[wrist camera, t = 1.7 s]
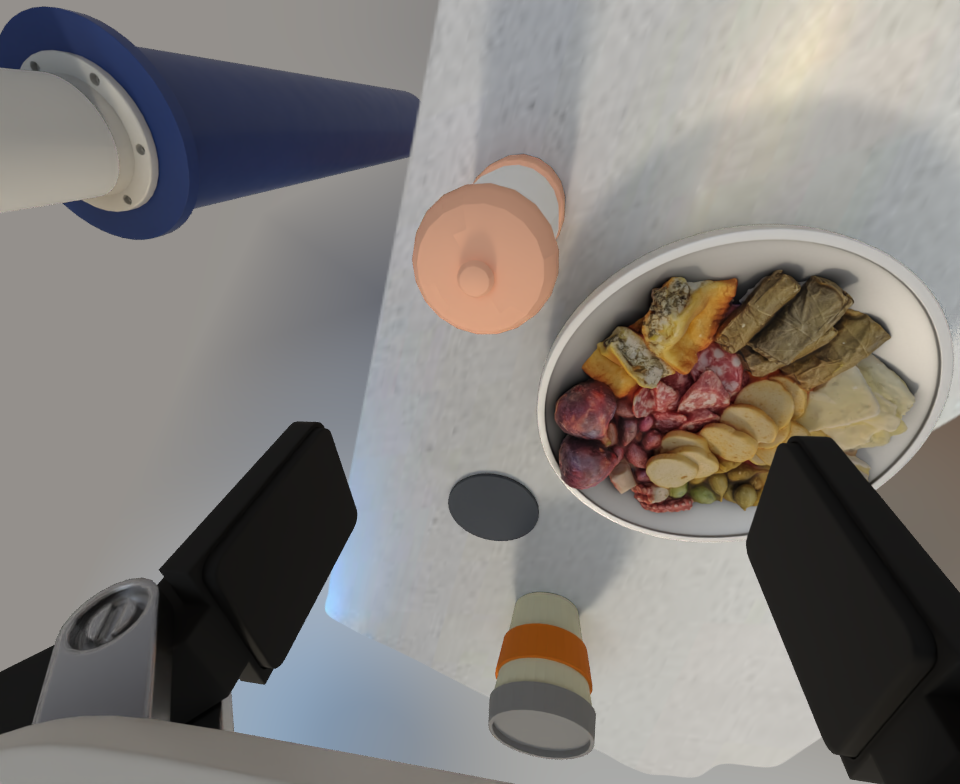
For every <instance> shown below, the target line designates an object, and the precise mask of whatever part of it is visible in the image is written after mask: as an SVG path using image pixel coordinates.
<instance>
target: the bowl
mask: <svg viewBox="0 0 960 784" xmlns="http://www.w3.org/2000/svg"><path fill="white" fill-rule="evenodd" d="M953 366H954V353H953V343H952V336H951V333H950V329H949V325H948V322H947V320H946V317H945V315H944V312H943V310H942V308H941V307H940V305H939V303H938V301H937V300H936V298H935V297H934V295H933V294H932V292H931V291H930V290H929V288H928V287H927V286H926V285H925V284H924V282H923V281H922V280H921V279H920V278H919V277H918V276H917V275H916V274H915V273H914V272H912V271H911V270H910V269H909V268H907V267H906V266H905V265H904V264H902V263H901V262H899V261H898V260H896V259H895V258H893V257H892V256H890V255H888V254H887V253H885V252H883V251H881V250H879V249H877V248H875V247H873V246H870V245H868V244H866V243H864V242H861V241H859V240H856V239H853V238H850V237H848V236H845V235H842V234H838V233H834V232H831V231H827V230H822V229H817V228H812V227H804V226H796V225H782V224H758V225H744V226H737V227H729V228H723V229H718V230H713V231H709V232H705V233H701V234H697V235H693V236H690V237H687V238H684V239H681V240H678V241H675V242H673V243H670V244H668V245H665V246H663V247H661V248H658V249H656V250H654V251H652V252H650V253H648V254H646V255H644V256H642V257H640V258H639V259H637V260H635V261H633V262H632V263H630V264H628V265H627V266H625V267H624V268H622V269H621V270H619V271H618V272H616V273H615V274H614V275H612V276H611V277H610V278H608V279H607V280H606V281H605V282H603V283H602V284H601V285H600V286H599V287H598V288H596V289H595V290H594V291H593V292H592V293H591V294H590V295H589V296H588V297H587V298H586V299H585V300H584V301H583V302H582V303H581V304H580V305H579V307H578V308H577V309H576V310H575V311H574V313H573V314H572V315H571V316H570V318H569V319H568V320H567V322H566V323H565V325H564V326H563V328H562V329H561V331H560V333H559V334H558V336H557V338H556V340H555V341H554V343H553V345H552V347H551V350H550V352H549V354H548V356H547V359H546V362H545V365H544V368H543V371H542V375H541V379H540V384H539V390H538V399H537V423H538V430H539V435H540V439H541V443H542V446H543V449H544V452H545V454H546V456H547V459H548V461H549V463H550V464H551V466H552V468H553V470H554V471H555V473H556V474H557V476H558V477H559V478H560V480H561V481H562V482H563V484H564V485H565V486H566V487H567V488H568V489H569V490H570V491H571V492H572V493H573V494H574V495H575V496H576V497H577V498H578V499H579V500H580V501H582V502H583V503H584V504H585V505H587V506H588V507H589V508H591V509H592V510H594V511H595V512H597V513H599V514H600V515H602V516H604V517H605V518H607V519H609V520H611V521H613V522H615V523H617V524H620V525H622V526H624V527H627V528H629V529H632V530H635V531H638V532H641V533H645V534H648V535H652V536H657V537H661V538H666V539H673V540H680V541H689V542H733V541H743V540H747V536H748V533H749V530H750V527H751V524H752V521H753V517H754V514H755V511H756V508H757V505H758V502H759V499H760V496H761V493H762V490H763V487H764V484H765V481H766V478H767V475H768V472H769V469H770V466H771V463H772V460H773V457H774V454H775V451H776V449H777V447H778V445H779V444H780V443H787V441H788V439H789V438H790V437H792V436H824V437H830V438H832V439H833V440H834V441H835V442H836V443H837V444H838V445H839V447H840V448H841V449H842V450H843V452H844V453H845V454H846V455H847V456H848V458H849V459H850V460H851V461H852V462H853V464H854V465H855V466H856V467H857V469H858V470H859V471H860V472H861V473H862V475H863V476H864V477H865V478H866V479H867V481H868V482H869V483H870V484H871V486H872V487H873V488H874V489H875V490H876V489H878V488H879V487H880V486H882V485H883V484H884V483H885V482H887V481H888V480H889V479H890V478H891V477H893V476H894V475H895V474H896V473H897V472H898V471H899V470H900V469H901V468H902V467H903V466H904V465H905V464H906V463H907V462H908V461H909V460H910V459H911V458H912V457H913V456H914V455H915V453H916V452H917V451H918V450H919V449H920V447H921V446H922V445H923V443H924V442H925V440H926V439H927V438H928V436H929V435H930V433H931V432H932V430H933V428H934V427H935V425H936V423H937V421H938V419H939V417H940V415H941V413H942V411H943V408H944V406H945V403H946V401H947V398H948V395H949V391H950V387H951V383H952V376H953Z"/></svg>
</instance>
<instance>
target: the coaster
mask: <svg viewBox="0 0 960 784" xmlns="http://www.w3.org/2000/svg"><path fill="white" fill-rule="evenodd" d="M448 504H449V510H450V513H451V515H452V517H453V518H454V520H455V521H456V522H457V523H458V524H459V525H460V526H461V527H462V528H463V529H465V530H466V531H468V532H469V533H471V534H473V535H475V536H478V537H480V538H484V539H488V540H494V541H508V540H514V539H517V538H520V537H522V536H524V535H526V534H527V533H529V532H530V531H531V530H532V529H533V528H534V526H535V525H536V523H537V520H538V514H539V510H538V505H537V502H536V500H535V498H534V496H533V495H532V493H531V492H530V491H529V490H528V489H527V488H525V487H524V486H523V485H522V484H520V483H519V482H517V481H515V480H513V479H510V478H508V477H504V476H501V475H496V474H477V475H473V476H470V477H467V478H465V479H463V480H461V481H460V482H458V483H457V484H456V485H455V486H454V488H453V489H452V491H451V493H450V496H449V502H448Z"/></svg>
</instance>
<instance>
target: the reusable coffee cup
mask: <svg viewBox="0 0 960 784" xmlns="http://www.w3.org/2000/svg"><path fill="white" fill-rule="evenodd" d="M495 675H496V679H497V681H496V685H495V689H494V690H493V691H492V693H491V694H490V702H489V724H488V725H489V730H490V732H491V733H492V735H493V736H494V737H495V738H496V739H497V740H498V741H500V742H501V743H503V744H504V745H506V746H508V747H510V748H512V749H514V750H516V751H519V752H522V753H525V754H528V755H532V756H536V757H541V758H547V759H574V758H578V757H582V756H584V755H586V754H588V753H589V752H591V751H592V749H593V748H594V738H595V720H596V713H595V711H594V708H593V707H592V703H591V697H590V694H591V692H592V680H591V674H590V667H589V661H588V654H587V649H586V646H585V644H584V643H583V641H582V636H581V629H580V622H579V615H578V611H577V609H576V607H575V606H574V604H572V603H571V602H570V601H569V600H567V599H566V598H564V597H562V596H559V595H556V594H552V593H546V592H535V593H530V594H527V595H524V596H522V597H521V598H520V599H518V601H517V602H516V605H515V609H514V613H513V617H512V621H511V625H510V629H509V631H508V632H507V633H506V635H505V636H504V640H503V644H502V648H501V652H500V656H499V659H498V663H497V667H496V672H495Z"/></svg>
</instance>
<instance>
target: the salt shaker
mask: <svg viewBox="0 0 960 784" xmlns="http://www.w3.org/2000/svg"><path fill="white" fill-rule="evenodd" d="M564 213H565V194H564V191H563V187H562V184H561V181H560V179H559V178H558V176H557V175H556V173H555V172H554V170H553V169H552V168H551V167H550V166H549V165H547V164H546V163H545V162H543V161H542V160H540V159H539V158H536V157H532V156H529V155H525V154H521V155H510V156H507V157H505V158H503V159H501V160H498V161H496V162H494V163H493V164H491V165H489V166H488V167H487V168H486V169H485V170H484V171H483V172H482V173H481V174H480V175H478V176H477V177H476V179H475V181H474V183H473V184H470V185H464V186H462V187H460V188H458V189H455V190H453V191H451V192H449V193H447V194H444V195H443V196H442V197H441V198H440V199H439V200H438V201H437V202H436V203H435V204H434V205H433V206H432V207H431V208H430V209H429V210H428V211H427V212H426V214H425V216H424V218H423V220H422V222H421V224H420V226H419V228H418V230H417V232H416V237H415V244H414V251H413V258H412V262H413V268H414V274H415V280H416V283H417V285H418V287H419V289H420V291H421V293H422V295H423V298H424V300H425V301H426V303H427V304H428V305H429V306H430V307H431V308H432V309H433V310H434V311H435V313H436V314H437V315H438V316H439V317H440V318H442V319H443V320H445V321H447V322H448V323H450V324H451V325H453V326H454V327H456V328H458V329H461V330H465V331H468V332H472V333H475V334H499V333H502V332H505V331H508V330H512V329H515V328H518V327H519V326H520V325H522V324H523V323H525V322H526V321H527V320H529V319H530V318H532V317H533V316H534V315H536V314H537V313H538V312H539V311H540V309H541V308H542V307H543V305H544V304H545V303H546V301H547V300H548V299H549V297H550V296H551V294H552V291H553V288H554V285H555V282H556V279H557V276H558V269H559V249H558V245H557V242H556V239H557V237H558V236H559V234H560V231H561V227H562V224H563V221H564Z"/></svg>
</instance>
